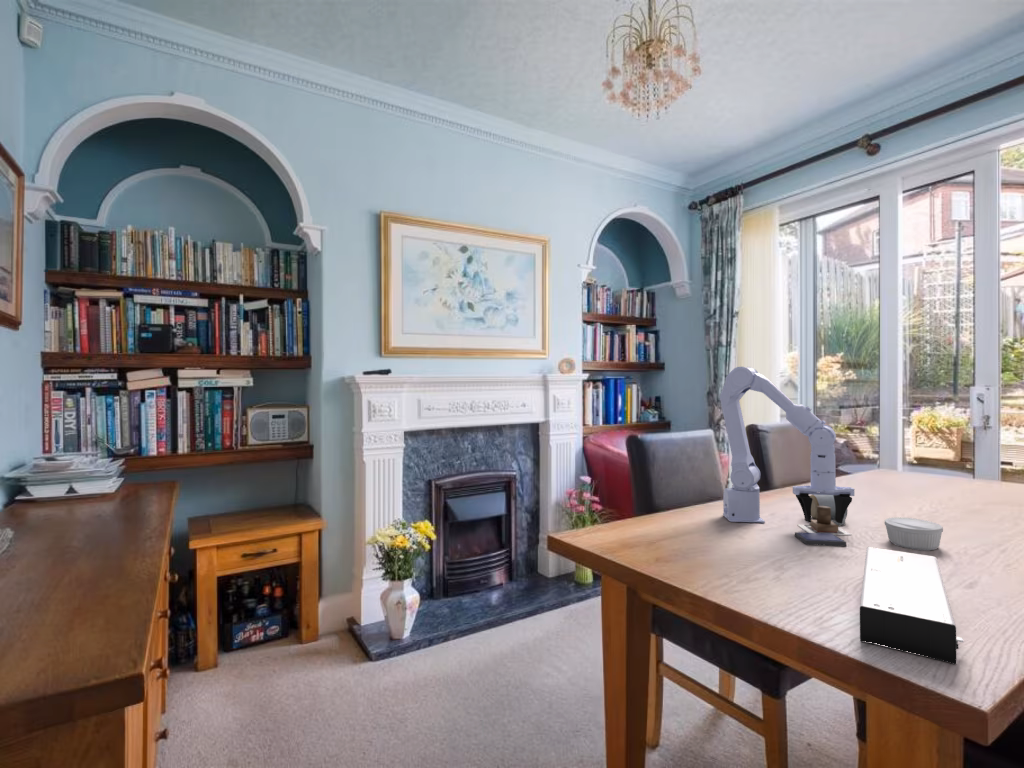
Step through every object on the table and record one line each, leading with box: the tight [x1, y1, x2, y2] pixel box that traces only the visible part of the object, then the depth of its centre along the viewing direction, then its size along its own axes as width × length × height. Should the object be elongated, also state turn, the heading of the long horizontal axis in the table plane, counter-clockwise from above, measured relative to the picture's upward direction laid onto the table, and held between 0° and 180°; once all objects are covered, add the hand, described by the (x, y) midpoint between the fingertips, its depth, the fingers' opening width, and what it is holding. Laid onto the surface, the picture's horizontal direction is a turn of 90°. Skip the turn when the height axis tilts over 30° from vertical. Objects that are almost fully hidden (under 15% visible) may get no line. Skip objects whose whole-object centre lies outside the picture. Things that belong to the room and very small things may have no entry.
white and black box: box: [859, 546, 964, 665], centre depth 88 cm, size 34×12×6 cm, turn 144°
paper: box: [797, 524, 852, 536], centre depth 136 cm, size 10×8×1 cm
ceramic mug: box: [809, 495, 848, 527], centre depth 145 cm, size 11×8×8 cm
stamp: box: [809, 506, 839, 532], centre depth 136 cm, size 5×5×6 cm
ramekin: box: [884, 516, 944, 551], centre depth 124 cm, size 11×11×5 cm
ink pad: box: [794, 531, 847, 547], centre depth 127 cm, size 9×7×1 cm
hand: (823, 521), depth 136 cm, fingers open, 7 cm apart
